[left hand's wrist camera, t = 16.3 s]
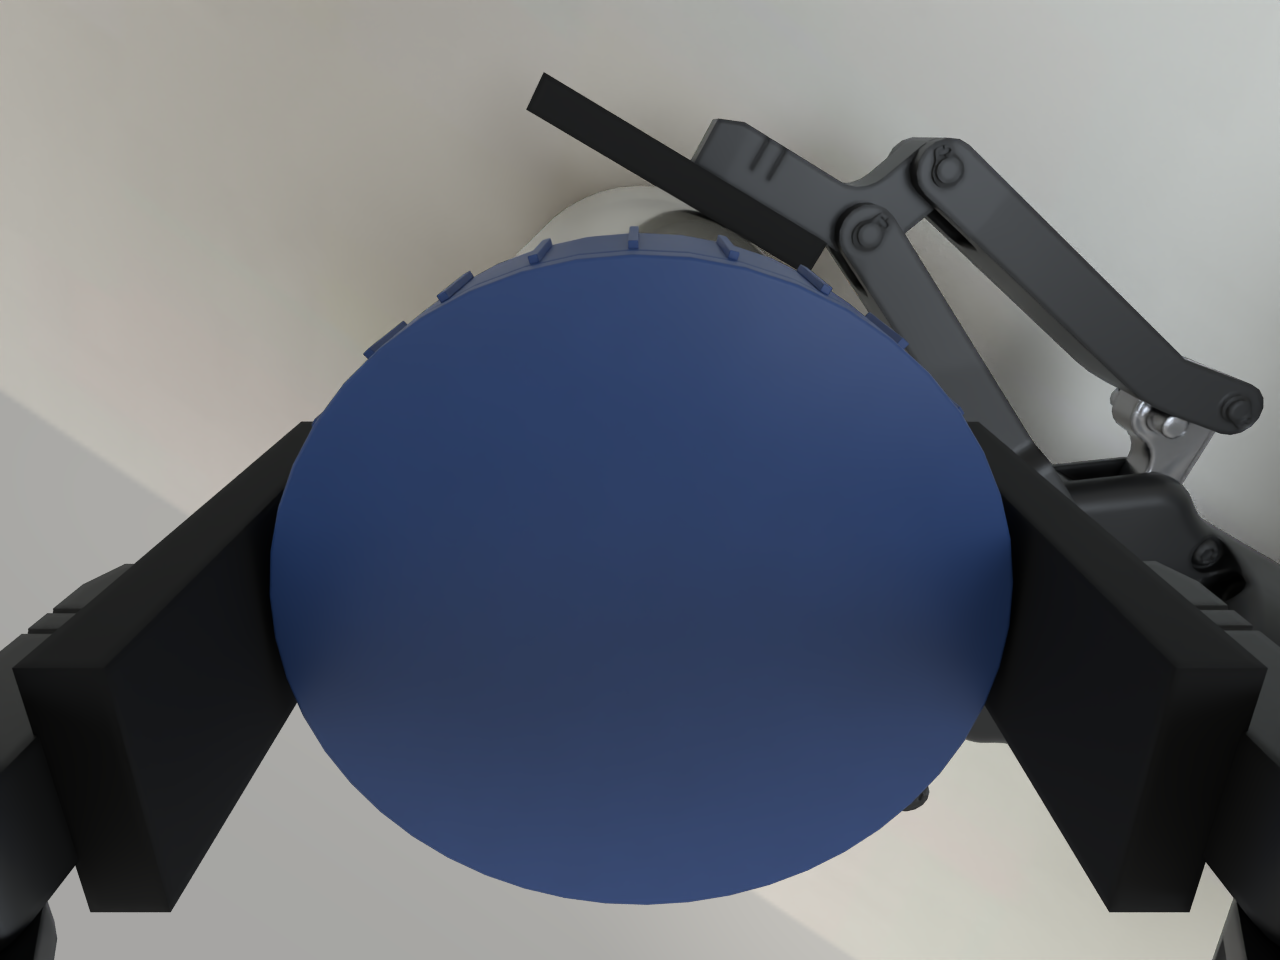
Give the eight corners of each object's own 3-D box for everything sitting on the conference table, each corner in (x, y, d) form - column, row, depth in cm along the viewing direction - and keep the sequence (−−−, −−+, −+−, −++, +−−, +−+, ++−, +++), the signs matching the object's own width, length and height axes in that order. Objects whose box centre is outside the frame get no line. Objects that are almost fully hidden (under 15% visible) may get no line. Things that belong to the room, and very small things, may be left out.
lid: (998, 218, 10) (1081, 236, 8) (923, 797, 14) (969, 905, 12) (271, 232, 10) (188, 254, 8) (371, 805, 14) (327, 914, 12)
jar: (710, 483, 28) (797, 915, 13) (474, 397, 27) (251, 754, 11) (817, 247, 25) (1099, 429, 10) (559, 140, 24) (414, 153, 9)
